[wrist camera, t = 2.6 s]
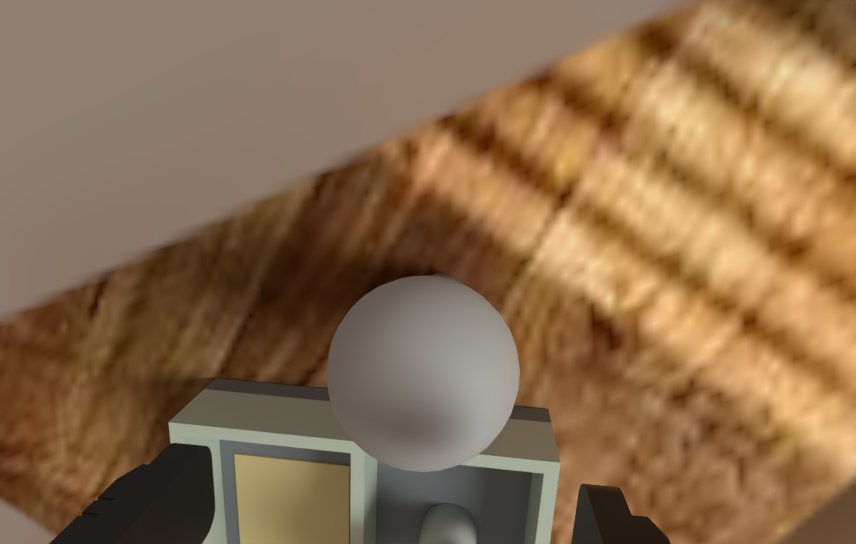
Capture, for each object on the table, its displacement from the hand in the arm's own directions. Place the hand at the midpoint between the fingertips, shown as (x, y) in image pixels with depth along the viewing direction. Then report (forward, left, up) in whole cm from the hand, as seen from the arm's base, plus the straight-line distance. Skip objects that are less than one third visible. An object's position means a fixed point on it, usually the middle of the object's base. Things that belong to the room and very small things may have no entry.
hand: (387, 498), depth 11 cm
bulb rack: (+12, -3, -14) cm, 18 cm away
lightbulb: (0, 0, -14) cm, 14 cm away
